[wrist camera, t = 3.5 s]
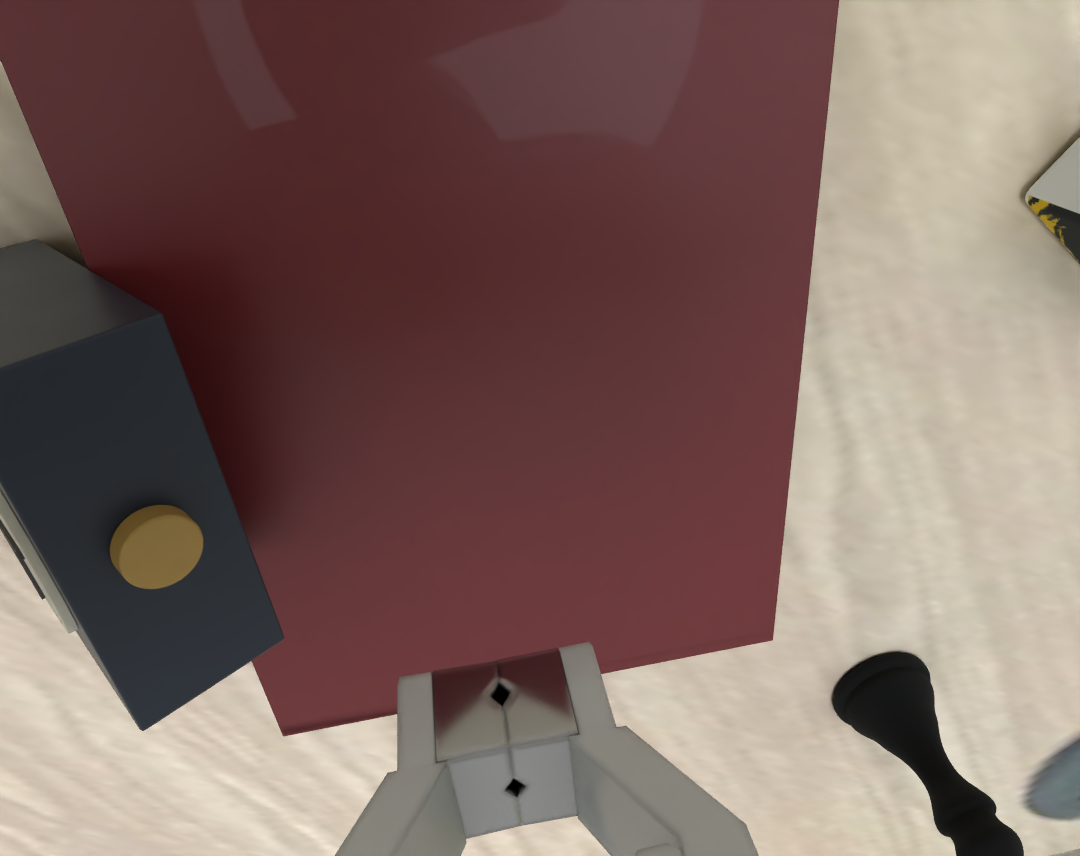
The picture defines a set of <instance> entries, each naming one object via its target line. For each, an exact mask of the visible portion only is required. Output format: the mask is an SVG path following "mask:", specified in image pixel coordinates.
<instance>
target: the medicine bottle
mask: <svg viewBox="0 0 1080 856" xmlns="http://www.w3.org/2000/svg"><path fill="white" fill-rule="evenodd" d="M1025 201H1026V204H1027V205H1028V206H1029V207H1030V208H1031V209H1032V210H1033V211H1034V213H1035V214H1036V215H1037V216H1038V217H1039V218H1040V219H1041V220H1042V222H1043V223H1044V224H1045V225H1046V226H1047V227H1048V228H1049V229H1050V230H1051V232H1052V233H1053V234H1054V235H1055V236H1056V237H1057V238H1058V239H1059V241H1060V242H1061V243H1062V244H1063V245H1064V246H1065V247H1066V248H1067V249H1068V251H1069V252H1070V253H1071V254H1072V255H1073V256H1074V257H1075V258H1076V259H1077V261H1078V262H1079V263H1080V137H1079V138H1078V139H1077V140H1076V141H1075V142H1074V143H1073V144H1072V145H1071V146H1070V147H1069V148H1068V149H1067V150H1066V151H1065V152H1064V153H1063V154H1062V156H1061V157H1060V158H1059V159H1058V160H1057V161H1056V162H1055V163H1054V164H1053V165H1052V166H1051V167H1050V168H1049V169H1048V170H1047V171H1046V172H1045V173H1044V174H1043V175H1042V176H1041V177H1040V178H1039V179H1038V180H1037V181H1036V182H1035V183H1034V185H1033V186H1032V187H1031V188H1030V189H1029V190H1028V192H1027V193H1026V197H1025Z"/></svg>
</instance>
